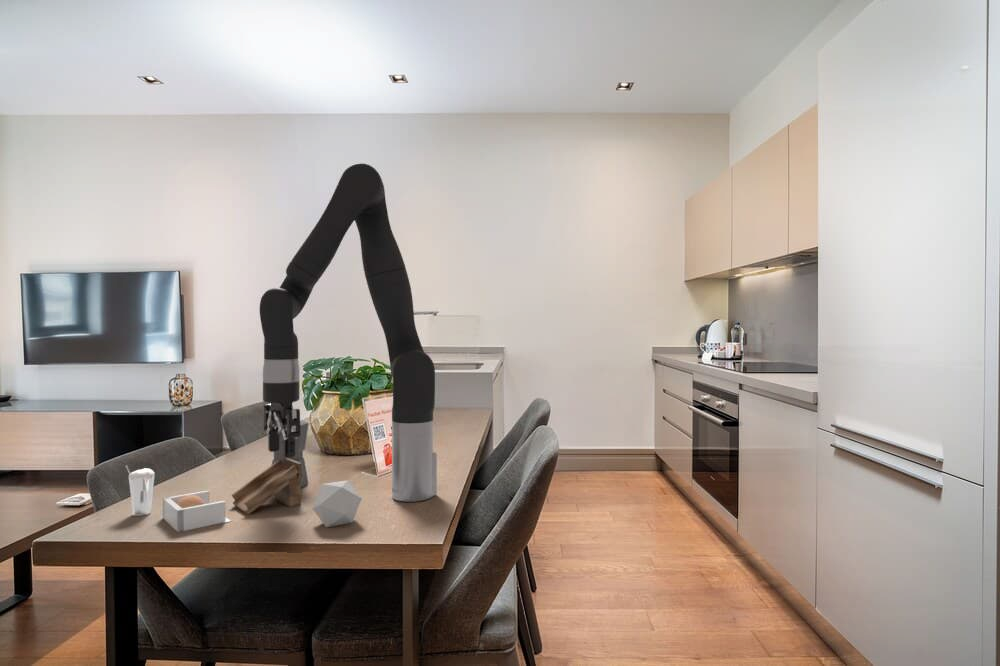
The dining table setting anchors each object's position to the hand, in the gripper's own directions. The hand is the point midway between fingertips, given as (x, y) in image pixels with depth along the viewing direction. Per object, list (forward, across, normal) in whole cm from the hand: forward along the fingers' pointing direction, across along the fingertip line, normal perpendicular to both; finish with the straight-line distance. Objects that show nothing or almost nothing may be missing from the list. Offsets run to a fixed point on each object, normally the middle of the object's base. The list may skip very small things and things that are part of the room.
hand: (281, 453), depth 125 cm
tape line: (+11, 0, +13) cm, 17 cm away
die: (+11, -21, -2) cm, 24 cm away
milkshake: (+11, +12, +24) cm, 29 cm away
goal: (+11, 0, +18) cm, 20 cm away
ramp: (+11, 0, +4) cm, 11 cm away
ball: (+8, 0, +18) cm, 20 cm away
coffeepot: (+11, +14, -8) cm, 19 cm away
